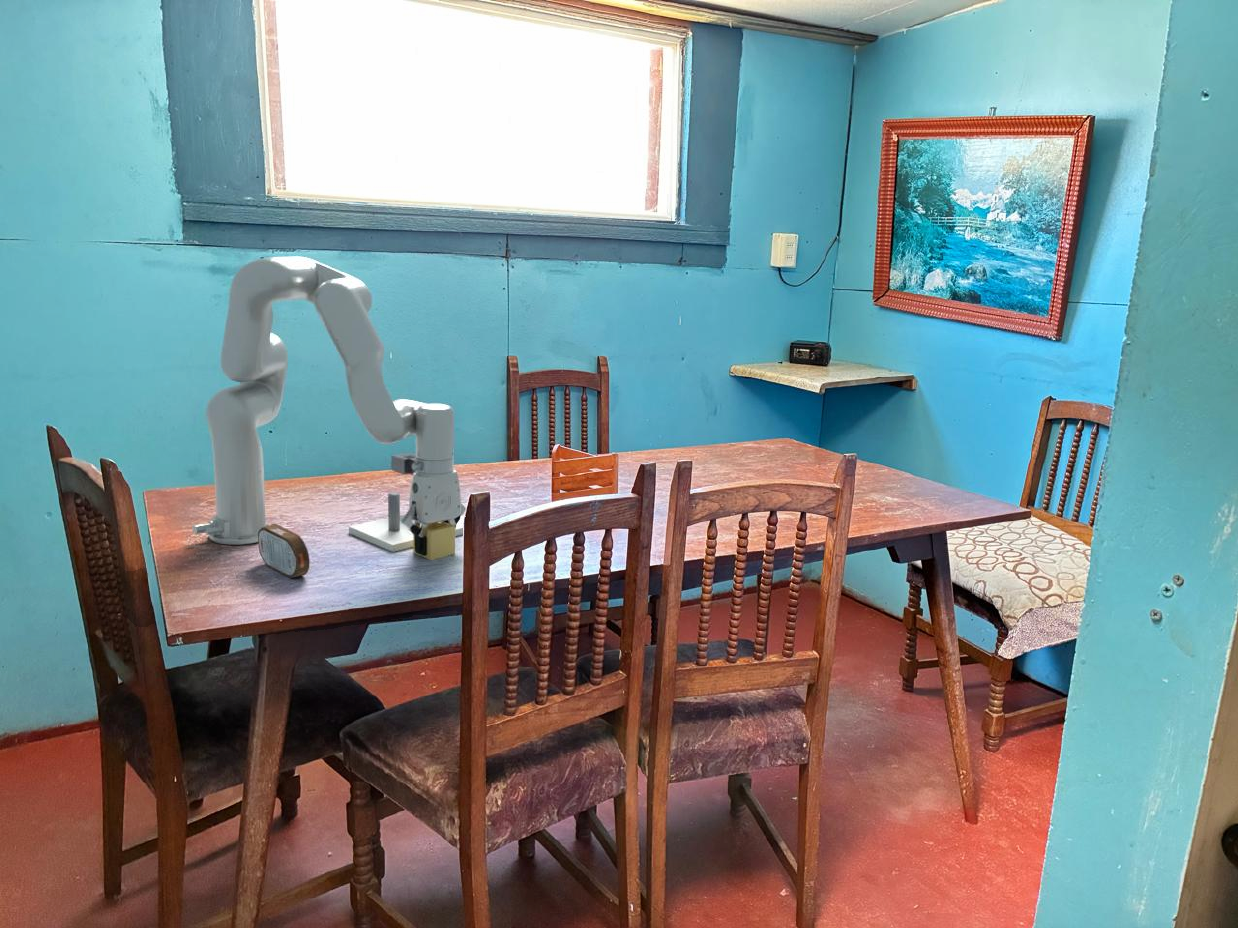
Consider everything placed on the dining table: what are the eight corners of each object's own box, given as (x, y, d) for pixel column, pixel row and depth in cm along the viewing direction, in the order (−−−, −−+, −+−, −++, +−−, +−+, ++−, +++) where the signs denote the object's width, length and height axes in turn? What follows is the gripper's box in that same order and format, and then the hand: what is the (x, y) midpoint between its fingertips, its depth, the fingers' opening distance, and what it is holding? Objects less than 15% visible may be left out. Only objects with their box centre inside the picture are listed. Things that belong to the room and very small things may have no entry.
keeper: (453, 481, 209) (453, 466, 208) (435, 485, 205) (435, 469, 204) (409, 467, 219) (409, 452, 219) (391, 470, 216) (391, 455, 215)
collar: (431, 560, 189) (431, 531, 187) (413, 552, 193) (413, 524, 191) (454, 553, 193) (455, 526, 192) (436, 546, 197) (437, 519, 196)
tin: (311, 580, 175) (310, 537, 173) (296, 584, 173) (294, 541, 171) (270, 559, 185) (269, 518, 183) (255, 562, 183) (254, 521, 181)
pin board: (392, 551, 192) (392, 505, 190) (348, 532, 203) (348, 488, 200) (482, 529, 210) (483, 486, 208) (438, 512, 220) (438, 471, 218)
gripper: (410, 475, 180) (410, 564, 184) (480, 462, 193) (478, 546, 197) (387, 468, 185) (388, 554, 189) (456, 456, 197) (455, 537, 202)
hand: (434, 549), depth 193 cm, fingers closed on collar, 6 cm apart
